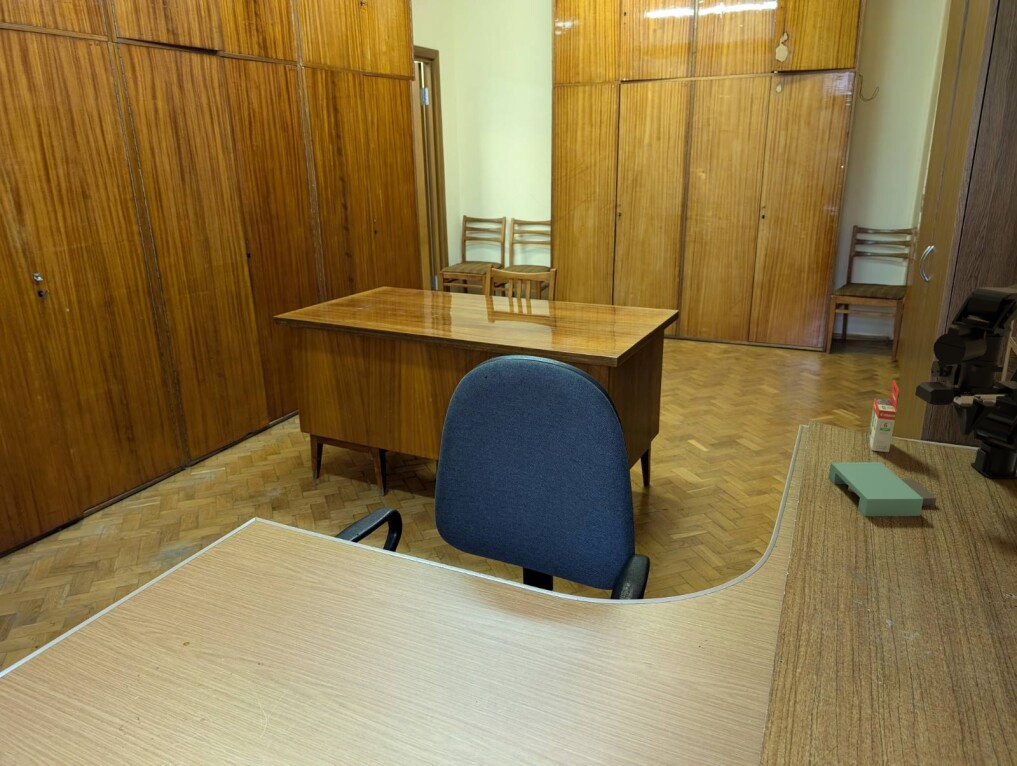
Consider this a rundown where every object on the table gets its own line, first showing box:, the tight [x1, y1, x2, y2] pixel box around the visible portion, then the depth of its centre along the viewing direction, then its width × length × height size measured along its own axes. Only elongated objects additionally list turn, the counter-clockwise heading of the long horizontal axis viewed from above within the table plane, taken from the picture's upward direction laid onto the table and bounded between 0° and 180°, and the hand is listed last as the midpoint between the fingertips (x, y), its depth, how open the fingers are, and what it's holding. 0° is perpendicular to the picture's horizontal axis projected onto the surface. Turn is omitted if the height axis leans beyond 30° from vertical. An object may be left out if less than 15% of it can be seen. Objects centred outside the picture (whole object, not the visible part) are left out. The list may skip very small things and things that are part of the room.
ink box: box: [867, 379, 901, 453], centre depth 152 cm, size 4×8×15 cm, turn 160°
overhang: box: [828, 461, 923, 517], centre depth 131 cm, size 10×15×4 cm, turn 179°
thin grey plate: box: [900, 478, 937, 506], centre depth 132 cm, size 11×8×2 cm
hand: (964, 434), depth 132 cm, fingers closed
